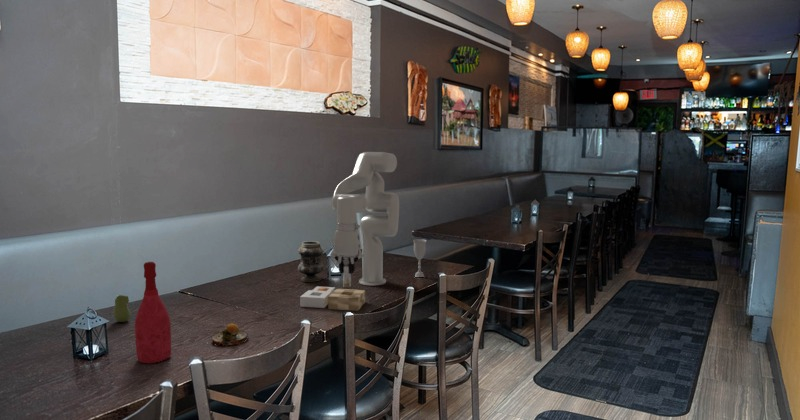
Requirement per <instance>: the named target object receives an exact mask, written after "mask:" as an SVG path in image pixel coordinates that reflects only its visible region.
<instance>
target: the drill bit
mask: <svg viewBox="0 0 800 420" xmlns="http://www.w3.org/2000/svg"><path fill="white" fill-rule="evenodd" d="M350 264H351V258H350V256H343V273H342V287H343V288H344V289H348V288H351V287H352V274H350Z"/></svg>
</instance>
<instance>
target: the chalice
mask: <svg viewBox="0 0 800 420" xmlns="http://www.w3.org/2000/svg"><path fill="white" fill-rule="evenodd" d="M412 241H413V253H414V255H415V258H416V259H417V260H418V261H417V262H418V263H417V265H418V266H417V268H418V270H417V272H415V275H414V276H415V277H424V278H425V275H424V272H422V271H421V269H422V266H421V264H422V262H421V260H422V259H423V258H424V256H425V254H426V252H427V251H426V250H427V249H426V247H427V246H426V245H427V244H426V243H427V239H423V238H422V239H421V238H417V239H413V240H412ZM415 277H414V278H415Z"/></svg>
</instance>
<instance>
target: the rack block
mask: <svg viewBox="0 0 800 420" xmlns="http://www.w3.org/2000/svg"><path fill="white" fill-rule="evenodd" d="M365 303H366V290H365V289H348V288H335V291H334V292H333V293H332V294H331V295H330V296H328V305H327V307H328V310H338V311H339V310H341V311H342V310H343V311H356V312H358V311H359V310H360V309H361V308H362V307H363V305H364V304H365Z"/></svg>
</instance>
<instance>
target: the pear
mask: <svg viewBox="0 0 800 420" xmlns="http://www.w3.org/2000/svg"><path fill="white" fill-rule="evenodd" d="M129 302H130V300H129V296H128V295H124V294H122V295H121V294H117V295H116V297H115V299H114V307H113V318H114V319H115V321H116V322H119V323H124V322H125V323H126V322H127V321H128V320H129V319H130V318H131V314H132V313H131V311H130V309H129V308H128V305H129Z"/></svg>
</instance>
